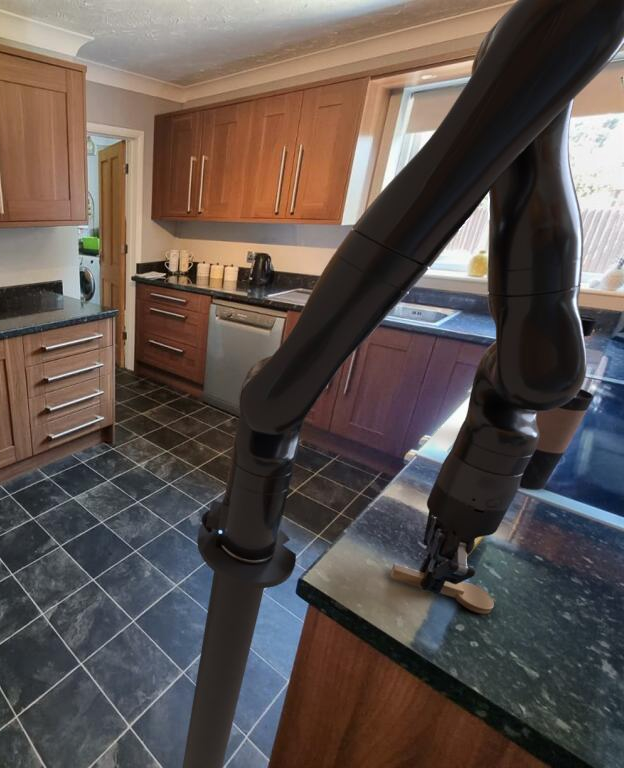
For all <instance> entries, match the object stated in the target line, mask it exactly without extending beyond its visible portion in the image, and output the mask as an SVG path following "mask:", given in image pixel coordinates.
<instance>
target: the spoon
mask: <svg viewBox="0 0 624 768" xmlns="http://www.w3.org/2000/svg"><path fill="white" fill-rule="evenodd" d="M390 574H391V578H392V579H394V580H397V581H401V582H404V583H407V584H410V585H414V586H416V587H419V588H421V582H422V579H423V577H424V575H425V573H423V572H420V571H419V570H417V569H413V568H411V567H407V566H403V565H400V564H397V563H393V564H392V566H391V569H390ZM439 594H442V595H445V596H447V597H452V598H453V599H455V600H456V601H457V602H458V603H459V604H460V605H462V606H463V607H464V608H465V609H468V610H470V611H471V612H474V613H477V614H482V615H486V614H490V613H491V612H492V610H493V608H494V607H495V601H494V600H493V598H492V597H491V595H490V594H489V593H488V592H487V591H486V590H484V589H483V588H481V587H479V586H478V585H475V584H473V583H471V582H467V581H462V582H460V583H458V584H456V585H455V584H452V583H450V582H447V581H445V583H444V585H443V587H442V589H441V591H440V593H439Z"/></svg>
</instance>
